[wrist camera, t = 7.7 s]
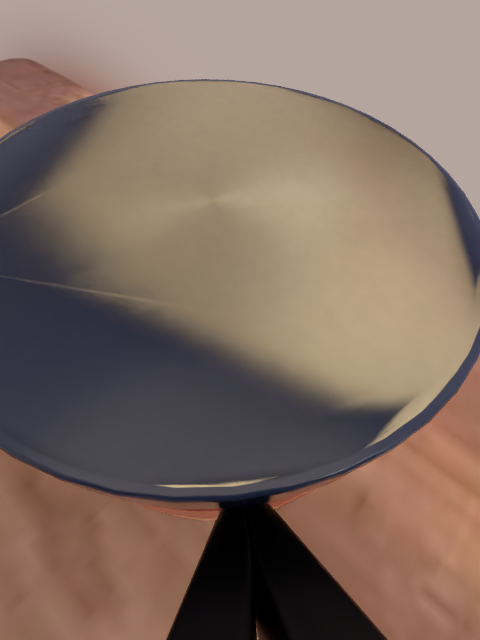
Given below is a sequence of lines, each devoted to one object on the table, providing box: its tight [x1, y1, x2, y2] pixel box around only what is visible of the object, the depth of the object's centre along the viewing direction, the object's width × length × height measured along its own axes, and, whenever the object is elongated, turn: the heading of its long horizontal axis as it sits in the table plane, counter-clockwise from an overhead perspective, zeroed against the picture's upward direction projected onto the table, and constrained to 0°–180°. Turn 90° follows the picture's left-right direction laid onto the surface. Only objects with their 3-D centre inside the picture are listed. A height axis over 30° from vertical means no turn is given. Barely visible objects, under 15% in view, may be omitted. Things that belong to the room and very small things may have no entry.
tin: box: [0, 79, 480, 521], centre depth 13 cm, size 14×14×9 cm
